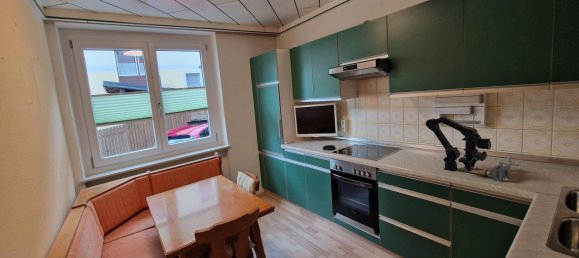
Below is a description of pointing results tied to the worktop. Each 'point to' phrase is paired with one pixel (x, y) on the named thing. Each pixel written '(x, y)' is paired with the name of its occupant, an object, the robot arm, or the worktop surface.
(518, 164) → the pipe connector
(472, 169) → the tube
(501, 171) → the firebox collars
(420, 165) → the worktop surface
